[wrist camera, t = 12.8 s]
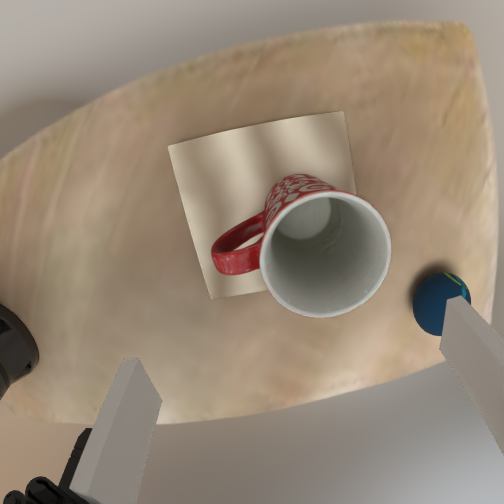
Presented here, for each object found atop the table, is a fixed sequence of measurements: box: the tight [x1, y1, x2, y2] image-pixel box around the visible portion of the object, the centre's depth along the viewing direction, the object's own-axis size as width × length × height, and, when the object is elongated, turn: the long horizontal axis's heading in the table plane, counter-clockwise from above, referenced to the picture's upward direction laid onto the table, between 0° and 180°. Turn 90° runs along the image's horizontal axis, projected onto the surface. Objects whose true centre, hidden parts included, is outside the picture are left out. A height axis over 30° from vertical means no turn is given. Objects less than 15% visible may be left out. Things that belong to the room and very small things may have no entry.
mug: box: [211, 174, 392, 318], centre depth 26 cm, size 13×9×14 cm
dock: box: [168, 111, 356, 300], centre depth 34 cm, size 18×18×3 cm
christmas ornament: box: [413, 273, 471, 336], centre depth 35 cm, size 8×8×10 cm
